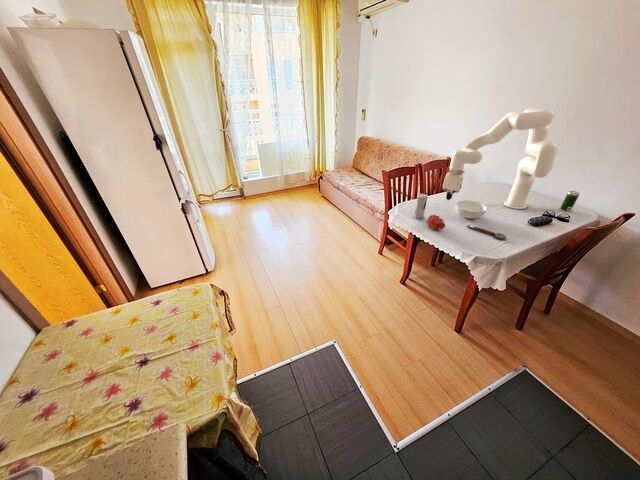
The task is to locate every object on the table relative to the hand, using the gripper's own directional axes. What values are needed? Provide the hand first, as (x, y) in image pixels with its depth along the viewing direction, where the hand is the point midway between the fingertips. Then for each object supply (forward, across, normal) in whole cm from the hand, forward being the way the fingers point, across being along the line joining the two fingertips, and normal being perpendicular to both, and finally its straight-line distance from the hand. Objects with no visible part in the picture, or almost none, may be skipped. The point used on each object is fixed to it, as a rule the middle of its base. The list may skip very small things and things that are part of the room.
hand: (448, 199), depth 164 cm
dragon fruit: (+8, -7, +28) cm, 30 cm away
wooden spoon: (+7, -30, +14) cm, 34 cm away
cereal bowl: (+8, -14, 0) cm, 16 cm away
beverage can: (+8, +7, +22) cm, 24 cm away
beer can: (+7, -53, -48) cm, 72 cm away
